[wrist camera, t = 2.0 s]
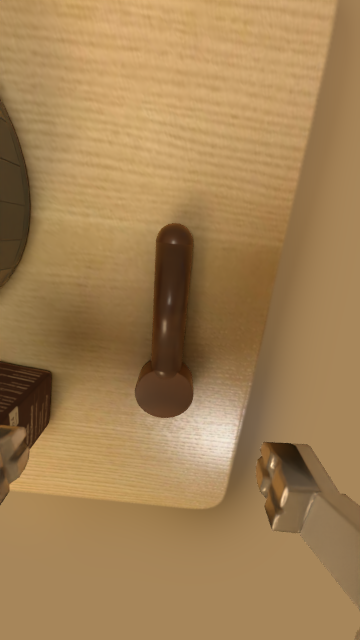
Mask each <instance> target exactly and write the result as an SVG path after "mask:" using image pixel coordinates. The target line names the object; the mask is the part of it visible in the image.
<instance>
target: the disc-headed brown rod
mask: <svg viewBox="0 0 360 640" xmlns="http://www.w3.org/2000/svg"><path fill="white" fill-rule="evenodd" d="M192 251H193V238H192V235H191V233H190V231H189V230H188V229H187V228H186V227H185V226H183V225H181V224H177V223H172V224H168V225H166V226H164V227H163V228H162V229H161V230H160V232H159V233H158V236H157V239H156V256H155V281H154V305H153V330H152V354H151V361H149V362H148V363H147V364H145V366H144V367H143V368H142V370H141V372H140V375H139V378H138V382H137V385H136V388H135V397H136V400H137V402H138V404H139V406H140V407H141V408H142V409H143V410H144V411H145V412H147V413H148V414H150V415H153V416H156V417H161V418H170V417H174V416H177V415H180V414H181V413H183V412H184V411H186V410H187V409H188V407H189V406H190V405H191V403H192V400H193V379H192V374H191V372H190V370H189V368H188V367H187V366H186V365H185V364H184V363H183V362H182V358H183V347H184V337H185V326H186V315H187V305H188V294H189V283H190V273H191V262H192Z"/></svg>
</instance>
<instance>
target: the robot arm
mask: <svg viewBox="0 0 360 640" xmlns="http://www.w3.org/2000/svg"><path fill="white" fill-rule="evenodd" d="M26 436H27V434H26V430H25V428H24V427H19V426H8V425H0V505H1V503H2V502H3V500H4V499H5V497H6V496H7V494H8V493H9V484H10V483H11V482H13V481H14V480H16V479H17V478H19V477H20V475H21V474H22V472H23V470H24V469H25V467H26V464H27V462H28V459H29V452H30V450H29V445H28V444H27V443H26V442H25V441H24V438H25V437H26ZM260 451H261V454H262V456H261V457H260V458H259V459H258V460H257V464H256V478H257V484H258V487H259V490H260V492H261V493H262V494H263V495H264V497H265V498H266V499H267V500H266V503H265V510H266V513H267V516H268V519H269V522H270V525H271V528H272V531H281V532H291V533H301V534H300V536H301V537H302V538H303V539H304V541H305V542H306V543H307V544H308V546H309V547H310V548H311V550H312V551H313V552H314V553H315V554H316V556H317V557H318V558H319V560H320V561H321V562H322V563H323V565H324V566H325V567H326V568H327V570H328V571H329V572H330V573H331V575H332V576H333V577H334V578H335V580H336V581H337V582H338V583H339V585H340V586H341V587H342V588H343V590H344V591H345V592H346V594H347V595H348V596H349V597H350V599H351V600H352V601H353V602H354V603H355V605H356V606H357V607H358V609H359V610H360V506H359V505H358V504H357V503H355V502H354V501H353V500H352V499H351V498H349V497H348V496H347V495H346V494H340V493H339V491H338V490H337V488H336V486H335V485H334V483H333V481H332V480H331V478H330V477H329V475H328V474H327V472H326V470H325V469H324V467H323V466H322V464H321V462H320V461H319V459H318V458H317V456H316V455H315V453H314V451H313V450H312V448H311V447H310V446H309V445H307V444H291V443H273V442H263V444H262V445H261V448H260ZM355 640H360V627H359V629H358V630H357V632H356V635H355Z"/></svg>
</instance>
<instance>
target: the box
mask: <svg viewBox="0 0 360 640" xmlns="http://www.w3.org/2000/svg"><path fill="white" fill-rule="evenodd" d="M50 399H51V374H50V372H49V371H44V370H39V369H33V368H27V367H21V366H16V365H12V364H7V363H3V362H0V425H8V426H19V427H24V428H25V430H26V434H27V436H26V437H25V438H24V441H25V442H26V443H27V444H28V445H29V450H30V448H31V447H32V446H33V444H34V443H35V442H36V440H37V439H38V437H39V436H40V435H41V433H42V432H43V431H44V429H45V428H46V427H47V425H48V423H49V413H50Z"/></svg>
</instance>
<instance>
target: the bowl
mask: <svg viewBox="0 0 360 640" xmlns="http://www.w3.org/2000/svg"><path fill="white" fill-rule="evenodd" d="M29 215H30V199H29V185H28V179H27V174H26V168H25V163H24V159H23V156H22V152H21V149H20V145H19V142H18V138H17V136H16V133H15V131H14V128H13V126H12V123H11V121H10V118H9V116H8V113H7V111H6V110H5V108H4V106H3V104H2V102H1V100H0V288H1V287H2V286H3V285H4V284H5V283H6V281H7V280H8V279H9V278H10V276H11V275H12V274H13V272H14V270H15V268H16V266H17V264H18V263H19V261H20V258H21V255H22V252H23V250H24V247H25V244H26V239H27V233H28V228H29Z"/></svg>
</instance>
